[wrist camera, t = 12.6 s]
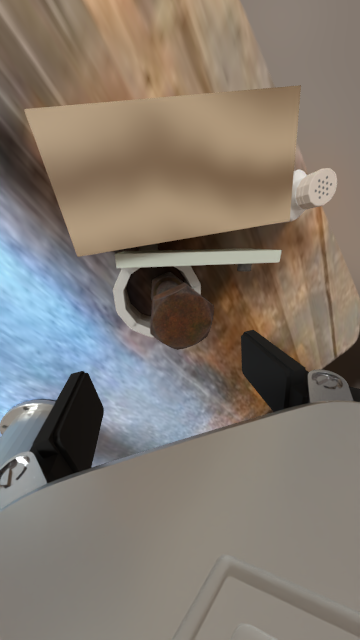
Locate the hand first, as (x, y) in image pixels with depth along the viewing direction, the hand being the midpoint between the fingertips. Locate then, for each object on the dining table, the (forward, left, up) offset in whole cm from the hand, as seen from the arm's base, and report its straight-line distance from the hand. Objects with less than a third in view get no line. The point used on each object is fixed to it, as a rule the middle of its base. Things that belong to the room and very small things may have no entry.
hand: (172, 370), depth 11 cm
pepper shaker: (+9, -18, -20) cm, 29 cm away
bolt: (+1, -2, -20) cm, 20 cm away
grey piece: (0, -4, -17) cm, 17 cm away
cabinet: (+5, -4, -20) cm, 21 cm away
